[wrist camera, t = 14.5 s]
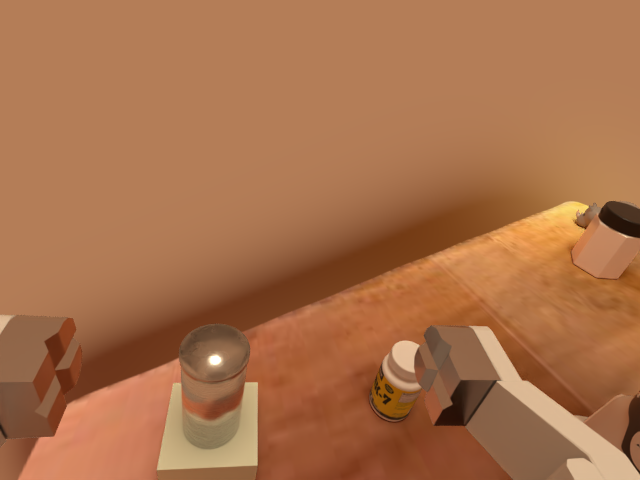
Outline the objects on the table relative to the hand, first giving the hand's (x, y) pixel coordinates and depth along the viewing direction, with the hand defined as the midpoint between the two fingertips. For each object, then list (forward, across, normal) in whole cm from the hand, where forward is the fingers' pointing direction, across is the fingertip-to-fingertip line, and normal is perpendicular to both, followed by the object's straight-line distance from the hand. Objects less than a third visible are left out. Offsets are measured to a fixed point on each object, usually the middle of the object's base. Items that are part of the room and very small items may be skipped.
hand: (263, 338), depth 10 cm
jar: (+46, -66, +32) cm, 87 cm away
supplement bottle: (+18, -17, +32) cm, 41 cm away
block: (+14, +2, +32) cm, 35 cm away
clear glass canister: (+14, +2, +28) cm, 31 cm away
